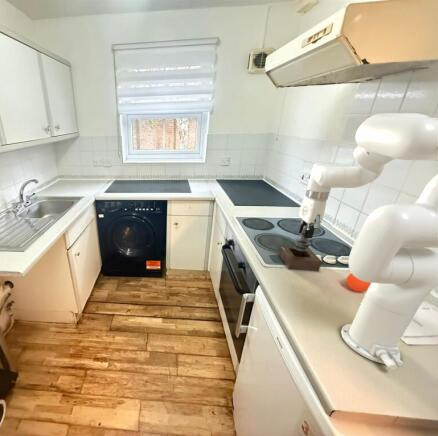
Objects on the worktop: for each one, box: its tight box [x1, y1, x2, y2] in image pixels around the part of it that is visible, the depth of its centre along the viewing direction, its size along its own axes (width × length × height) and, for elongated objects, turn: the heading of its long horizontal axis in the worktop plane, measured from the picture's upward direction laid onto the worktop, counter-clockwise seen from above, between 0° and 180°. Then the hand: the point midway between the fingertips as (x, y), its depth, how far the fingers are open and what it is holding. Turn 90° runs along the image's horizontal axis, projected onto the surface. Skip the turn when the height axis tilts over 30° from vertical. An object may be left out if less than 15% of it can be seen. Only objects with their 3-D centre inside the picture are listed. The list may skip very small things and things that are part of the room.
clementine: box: [345, 273, 371, 292], centre depth 89 cm, size 8×7×7 cm
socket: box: [278, 245, 323, 272], centre depth 106 cm, size 12×12×5 cm
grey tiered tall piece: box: [294, 224, 312, 252], centre depth 101 cm, size 6×6×12 cm
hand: (305, 235), depth 101 cm, fingers closed on grey tiered tall piece, 3 cm apart
